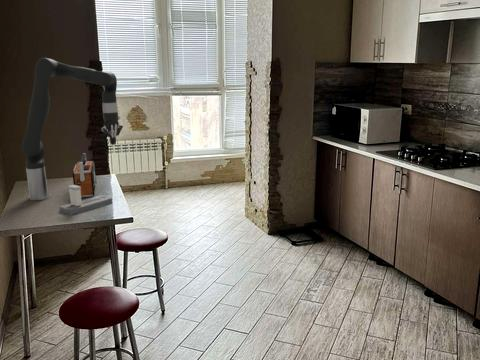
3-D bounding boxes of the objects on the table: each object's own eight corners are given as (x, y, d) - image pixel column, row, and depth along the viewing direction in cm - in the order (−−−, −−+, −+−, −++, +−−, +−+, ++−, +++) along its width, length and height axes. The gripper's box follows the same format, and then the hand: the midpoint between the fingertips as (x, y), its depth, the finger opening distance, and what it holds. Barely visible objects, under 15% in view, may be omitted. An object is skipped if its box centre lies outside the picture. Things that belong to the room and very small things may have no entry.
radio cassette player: (94, 198, 247) (91, 162, 242) (74, 199, 244) (70, 163, 239) (96, 184, 274) (93, 152, 269) (78, 186, 272) (75, 153, 267)
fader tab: (77, 206, 223) (75, 187, 221) (70, 204, 227) (68, 186, 225) (82, 204, 226) (80, 186, 223) (75, 202, 229) (73, 184, 227)
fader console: (71, 215, 219) (70, 209, 218) (59, 211, 225) (59, 206, 224) (112, 202, 237) (111, 198, 237) (100, 199, 243) (100, 195, 243)
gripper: (116, 109, 244) (119, 142, 248) (95, 112, 233) (98, 145, 238) (125, 110, 239) (127, 143, 243) (104, 113, 229) (107, 147, 233)
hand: (113, 144), depth 241 cm, fingers closed
